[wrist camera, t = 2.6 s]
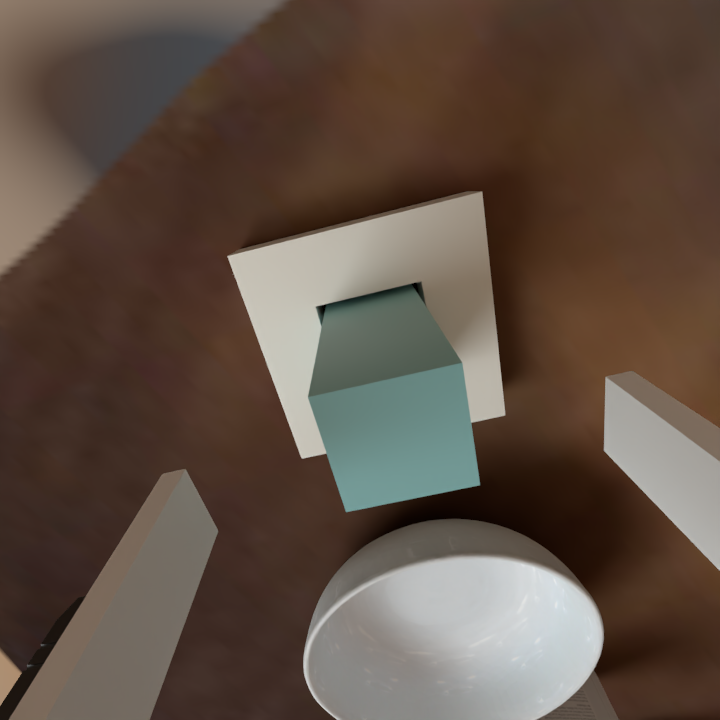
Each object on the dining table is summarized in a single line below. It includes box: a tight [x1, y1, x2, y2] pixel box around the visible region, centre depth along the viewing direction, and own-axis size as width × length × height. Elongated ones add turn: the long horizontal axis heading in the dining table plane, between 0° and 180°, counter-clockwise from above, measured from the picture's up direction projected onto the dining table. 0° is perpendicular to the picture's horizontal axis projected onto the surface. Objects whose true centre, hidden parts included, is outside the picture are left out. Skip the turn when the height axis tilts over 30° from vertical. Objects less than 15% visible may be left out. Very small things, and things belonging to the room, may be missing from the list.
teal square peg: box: [308, 284, 480, 512], centre depth 19 cm, size 5×5×12 cm
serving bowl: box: [303, 519, 604, 720], centre depth 30 cm, size 21×21×7 cm
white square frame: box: [228, 191, 505, 459], centre depth 23 cm, size 13×13×2 cm
